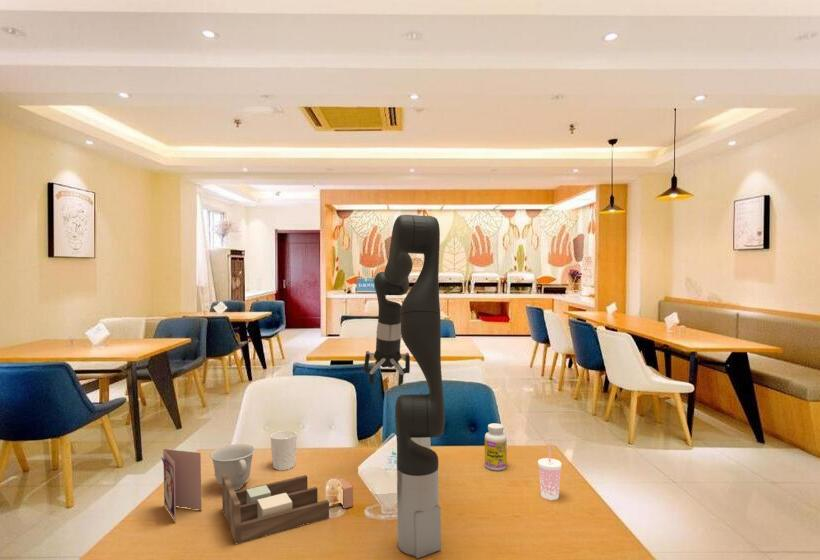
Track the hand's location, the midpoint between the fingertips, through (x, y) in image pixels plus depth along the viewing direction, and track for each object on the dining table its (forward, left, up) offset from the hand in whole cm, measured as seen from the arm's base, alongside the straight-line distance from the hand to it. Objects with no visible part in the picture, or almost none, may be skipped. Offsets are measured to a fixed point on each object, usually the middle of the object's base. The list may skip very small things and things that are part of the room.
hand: (386, 384), depth 148 cm
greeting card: (+1, +58, -25) cm, 64 cm away
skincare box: (-3, -11, -25) cm, 28 cm away
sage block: (-9, +41, -25) cm, 49 cm away
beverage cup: (-42, -28, -25) cm, 56 cm away
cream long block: (-17, +32, -25) cm, 44 cm away
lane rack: (-13, +38, -25) cm, 48 cm away
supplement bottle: (-20, -28, -25) cm, 42 cm away
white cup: (+15, +28, -25) cm, 41 cm away
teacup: (+7, +44, -25) cm, 52 cm away
